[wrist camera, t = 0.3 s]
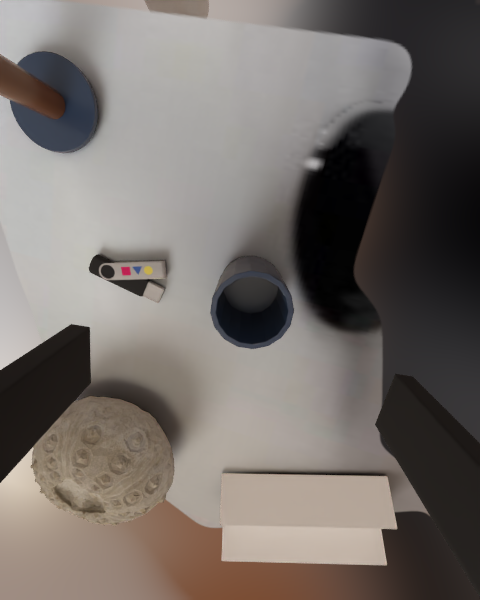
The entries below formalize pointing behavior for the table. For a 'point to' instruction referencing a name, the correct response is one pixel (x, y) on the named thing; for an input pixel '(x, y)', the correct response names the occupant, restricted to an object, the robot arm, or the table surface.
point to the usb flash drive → (132, 275)
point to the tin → (251, 303)
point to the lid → (50, 100)
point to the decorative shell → (104, 461)
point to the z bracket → (305, 518)
